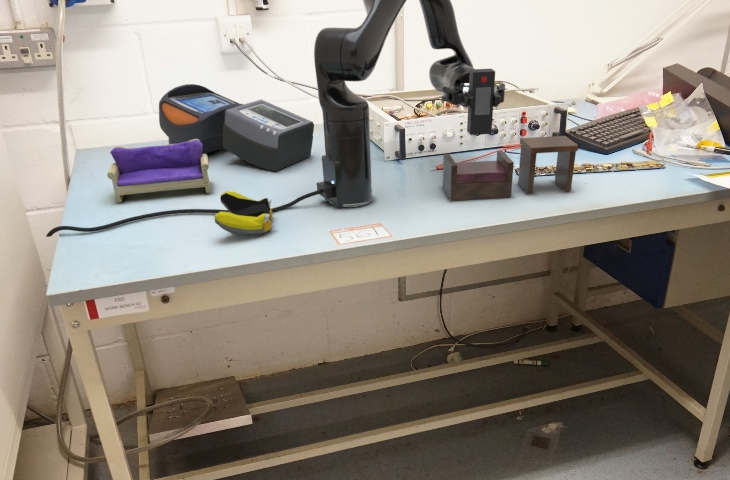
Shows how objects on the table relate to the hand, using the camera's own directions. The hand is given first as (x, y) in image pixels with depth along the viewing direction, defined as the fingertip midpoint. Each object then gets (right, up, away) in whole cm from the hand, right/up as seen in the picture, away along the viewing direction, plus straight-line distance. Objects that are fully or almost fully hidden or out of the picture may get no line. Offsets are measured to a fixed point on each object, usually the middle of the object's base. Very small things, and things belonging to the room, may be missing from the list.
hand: (484, 101), depth 128 cm
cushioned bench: (0, -15, +12) cm, 19 cm away
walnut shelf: (+15, -14, +14) cm, 25 cm away
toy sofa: (-69, -14, +17) cm, 72 cm away
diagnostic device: (-57, +1, +41) cm, 71 cm away
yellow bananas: (-46, -25, -2) cm, 53 cm away
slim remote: (0, -4, +6) cm, 7 cm away
